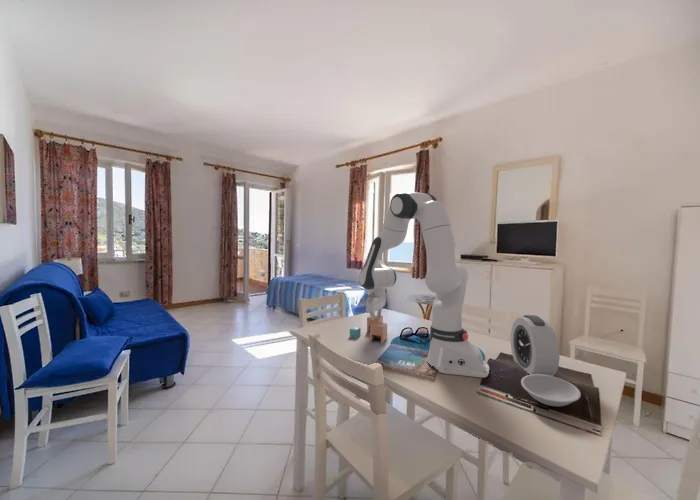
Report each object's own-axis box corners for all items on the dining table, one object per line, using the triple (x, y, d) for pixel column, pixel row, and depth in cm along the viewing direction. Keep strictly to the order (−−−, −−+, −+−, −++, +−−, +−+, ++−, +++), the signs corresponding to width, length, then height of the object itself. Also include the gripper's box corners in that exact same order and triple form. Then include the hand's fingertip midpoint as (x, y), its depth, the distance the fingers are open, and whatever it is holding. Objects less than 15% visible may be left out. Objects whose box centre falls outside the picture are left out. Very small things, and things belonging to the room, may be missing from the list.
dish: (573, 427, 75) (574, 408, 74) (512, 404, 85) (513, 387, 85) (584, 401, 87) (585, 385, 87) (529, 383, 97) (530, 369, 97)
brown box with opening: (386, 338, 139) (387, 323, 139) (382, 343, 133) (383, 327, 133) (374, 336, 142) (374, 321, 141) (369, 341, 136) (369, 325, 136)
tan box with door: (382, 330, 152) (382, 315, 152) (378, 333, 147) (378, 318, 146) (371, 328, 155) (371, 314, 155) (366, 331, 149) (367, 317, 149)
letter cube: (360, 335, 144) (360, 327, 143) (357, 338, 140) (357, 329, 140) (353, 334, 145) (353, 326, 145) (349, 336, 142) (349, 328, 141)
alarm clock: (509, 356, 120) (511, 308, 119) (529, 357, 119) (530, 309, 118) (535, 381, 99) (537, 324, 98) (558, 383, 98) (561, 325, 97)
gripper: (375, 295, 139) (375, 323, 140) (388, 288, 158) (388, 314, 158) (362, 294, 142) (362, 322, 142) (377, 288, 160) (377, 312, 161)
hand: (376, 317), depth 150 cm, fingers open, 8 cm apart
